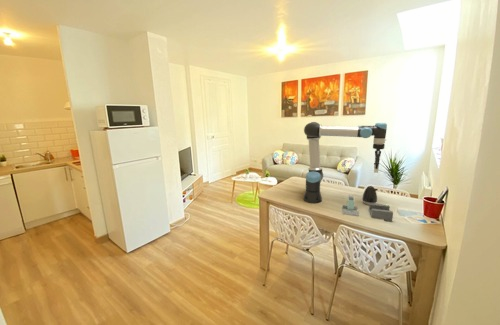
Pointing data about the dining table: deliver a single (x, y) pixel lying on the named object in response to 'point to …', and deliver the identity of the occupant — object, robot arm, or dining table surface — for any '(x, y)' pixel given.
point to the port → (380, 211)
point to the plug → (350, 203)
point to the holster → (350, 212)
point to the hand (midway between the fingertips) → (375, 170)
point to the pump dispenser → (369, 195)
